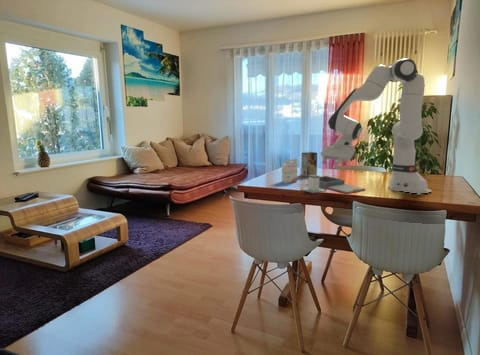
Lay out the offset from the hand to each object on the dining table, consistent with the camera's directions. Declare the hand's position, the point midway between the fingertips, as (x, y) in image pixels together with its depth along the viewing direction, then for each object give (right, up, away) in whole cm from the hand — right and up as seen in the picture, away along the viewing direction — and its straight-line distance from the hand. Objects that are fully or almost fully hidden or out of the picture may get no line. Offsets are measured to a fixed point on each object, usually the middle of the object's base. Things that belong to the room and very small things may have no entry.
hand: (329, 164), depth 195 cm
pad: (-10, -15, -3) cm, 18 cm away
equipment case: (+5, -13, +5) cm, 15 cm away
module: (-10, -15, -3) cm, 18 cm away
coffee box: (-3, -7, +43) cm, 43 cm away
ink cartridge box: (-20, -11, +21) cm, 31 cm away
